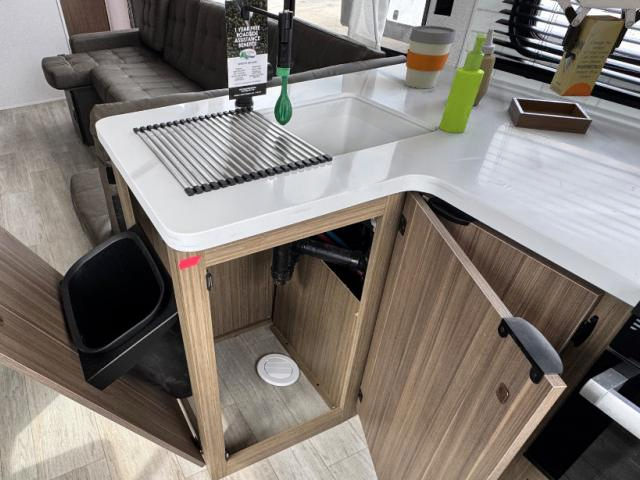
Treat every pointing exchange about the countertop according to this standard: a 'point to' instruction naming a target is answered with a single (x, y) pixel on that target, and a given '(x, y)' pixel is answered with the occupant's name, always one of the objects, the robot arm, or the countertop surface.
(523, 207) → the countertop surface
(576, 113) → the tray
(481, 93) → the squeeze bottle
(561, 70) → the shoe polish box
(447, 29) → the reusable coffee cup
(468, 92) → the soap dispenser
